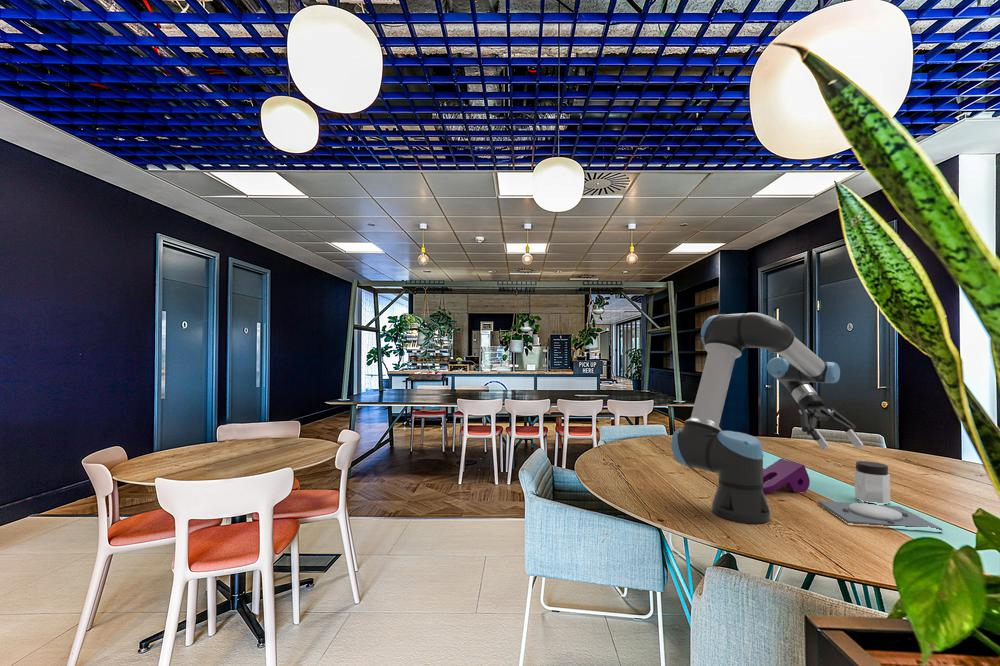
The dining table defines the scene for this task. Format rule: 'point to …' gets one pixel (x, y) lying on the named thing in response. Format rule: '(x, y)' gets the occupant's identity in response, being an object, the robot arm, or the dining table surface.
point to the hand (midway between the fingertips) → (843, 447)
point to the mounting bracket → (785, 476)
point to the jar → (872, 482)
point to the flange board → (875, 514)
